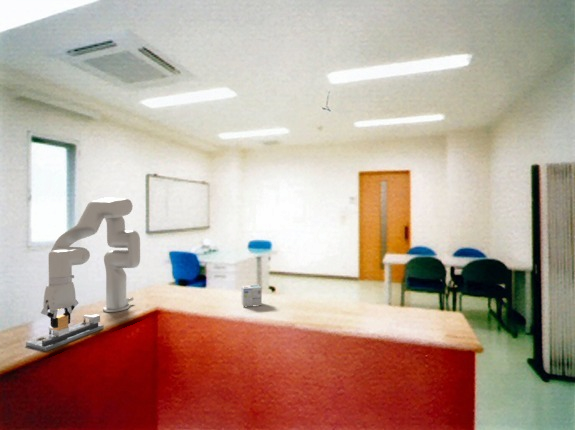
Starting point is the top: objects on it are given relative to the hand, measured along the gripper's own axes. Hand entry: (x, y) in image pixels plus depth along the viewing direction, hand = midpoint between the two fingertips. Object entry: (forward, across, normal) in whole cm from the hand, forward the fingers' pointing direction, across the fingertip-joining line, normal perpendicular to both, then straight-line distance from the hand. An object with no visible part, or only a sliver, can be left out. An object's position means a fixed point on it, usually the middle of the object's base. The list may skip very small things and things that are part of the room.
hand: (60, 324), depth 126 cm
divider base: (+7, -5, -3) cm, 9 cm away
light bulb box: (+7, -73, +49) cm, 88 cm away
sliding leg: (+5, 0, -3) cm, 6 cm away
